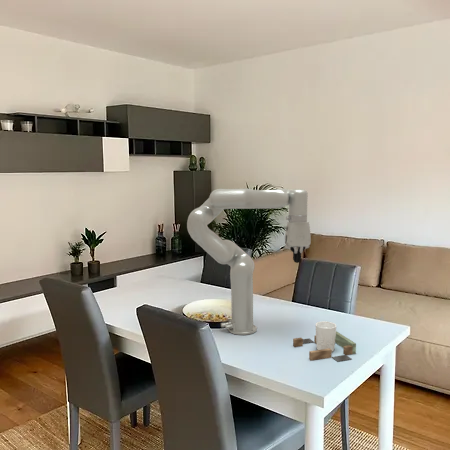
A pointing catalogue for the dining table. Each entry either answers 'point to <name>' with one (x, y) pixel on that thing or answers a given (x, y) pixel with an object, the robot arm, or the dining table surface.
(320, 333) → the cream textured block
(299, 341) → the brown and green pieces
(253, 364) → the dining table surface
